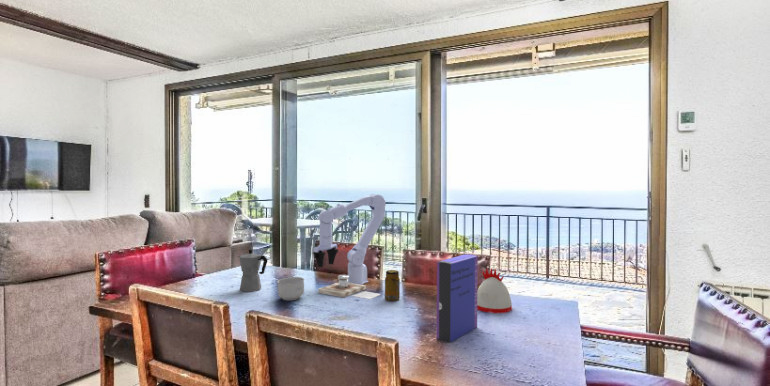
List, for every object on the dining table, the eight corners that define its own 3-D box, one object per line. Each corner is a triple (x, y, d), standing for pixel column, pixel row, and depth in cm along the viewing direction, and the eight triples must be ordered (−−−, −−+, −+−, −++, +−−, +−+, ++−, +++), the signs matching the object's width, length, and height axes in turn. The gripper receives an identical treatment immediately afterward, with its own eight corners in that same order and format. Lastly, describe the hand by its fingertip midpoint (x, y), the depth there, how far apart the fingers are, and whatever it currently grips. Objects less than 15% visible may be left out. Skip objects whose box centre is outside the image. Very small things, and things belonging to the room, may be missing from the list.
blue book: (464, 324, 140) (464, 253, 140) (477, 327, 137) (477, 255, 136) (436, 339, 127) (437, 261, 126) (450, 343, 124) (450, 263, 123)
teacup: (300, 302, 165) (300, 282, 165) (273, 302, 165) (273, 282, 165) (308, 293, 179) (308, 275, 179) (283, 293, 179) (283, 274, 179)
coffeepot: (231, 290, 183) (231, 250, 183) (245, 285, 192) (245, 247, 191) (260, 293, 178) (260, 252, 177) (273, 288, 187) (273, 249, 186)
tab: (364, 292, 181) (364, 291, 181) (381, 295, 176) (381, 294, 176) (352, 296, 173) (352, 295, 173) (369, 300, 169) (369, 299, 169)
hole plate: (341, 285, 192) (341, 281, 192) (366, 289, 185) (366, 285, 185) (318, 293, 179) (318, 288, 179) (344, 298, 171) (344, 293, 171)
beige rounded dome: (481, 300, 169) (481, 264, 168) (515, 305, 162) (515, 267, 161) (469, 309, 157) (469, 270, 156) (506, 315, 150) (506, 274, 149)
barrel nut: (345, 289, 185) (345, 274, 185) (351, 292, 181) (351, 276, 181) (335, 291, 182) (335, 275, 182) (341, 293, 178) (341, 277, 178)
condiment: (393, 297, 173) (393, 268, 173) (406, 301, 167) (407, 272, 167) (379, 300, 169) (379, 271, 169) (393, 304, 162) (393, 274, 162)
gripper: (329, 234, 200) (329, 262, 200) (308, 237, 187) (308, 267, 188) (340, 235, 196) (340, 263, 196) (320, 238, 184) (320, 269, 184)
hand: (325, 265), depth 192 cm, fingers open, 7 cm apart
